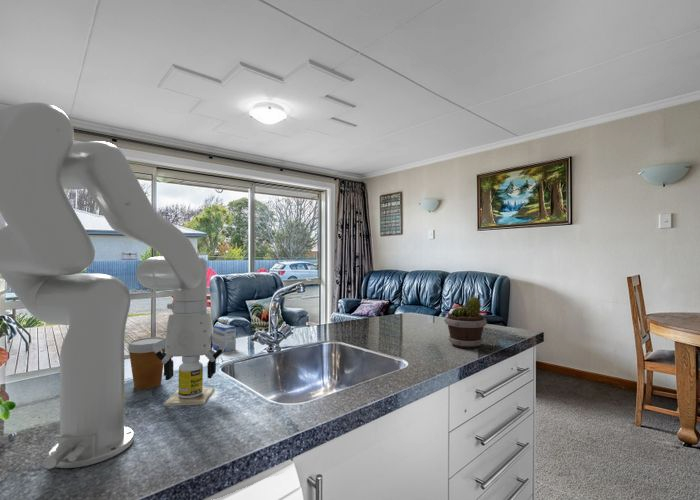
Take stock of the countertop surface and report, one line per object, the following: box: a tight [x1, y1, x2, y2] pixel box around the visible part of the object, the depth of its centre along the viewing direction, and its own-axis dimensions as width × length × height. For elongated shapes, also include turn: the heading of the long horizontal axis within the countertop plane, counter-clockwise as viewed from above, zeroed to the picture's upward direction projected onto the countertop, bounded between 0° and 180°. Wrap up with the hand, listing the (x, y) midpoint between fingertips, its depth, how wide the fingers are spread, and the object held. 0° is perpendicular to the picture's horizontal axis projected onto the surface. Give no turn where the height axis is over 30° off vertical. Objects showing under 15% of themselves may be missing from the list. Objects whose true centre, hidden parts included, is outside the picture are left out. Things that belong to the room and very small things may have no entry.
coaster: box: [163, 387, 215, 407], centre depth 88 cm, size 9×9×1 cm
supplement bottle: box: [177, 356, 204, 398], centre depth 88 cm, size 5×5×10 cm
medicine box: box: [212, 323, 237, 353], centre depth 133 cm, size 8×4×9 cm, turn 55°
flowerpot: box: [443, 294, 488, 349], centre depth 136 cm, size 14×15×20 cm
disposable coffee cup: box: [126, 336, 166, 391], centre depth 97 cm, size 10×10×12 cm
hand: (190, 377), depth 88 cm, fingers open, 9 cm apart
